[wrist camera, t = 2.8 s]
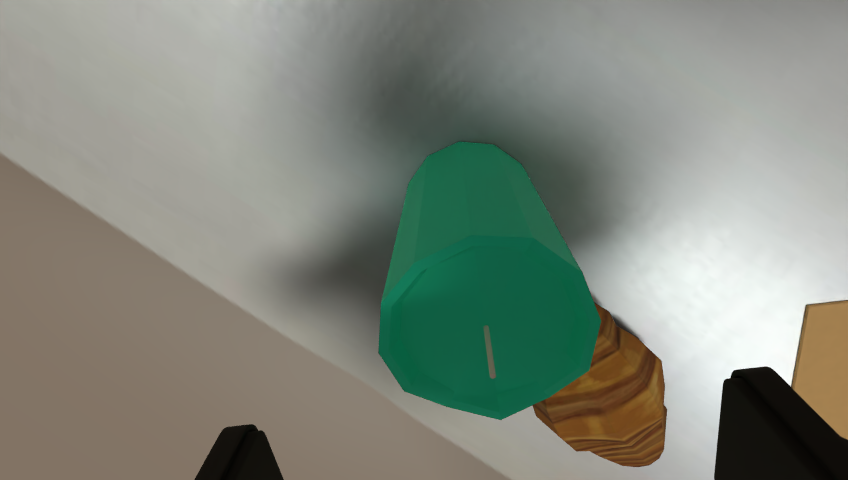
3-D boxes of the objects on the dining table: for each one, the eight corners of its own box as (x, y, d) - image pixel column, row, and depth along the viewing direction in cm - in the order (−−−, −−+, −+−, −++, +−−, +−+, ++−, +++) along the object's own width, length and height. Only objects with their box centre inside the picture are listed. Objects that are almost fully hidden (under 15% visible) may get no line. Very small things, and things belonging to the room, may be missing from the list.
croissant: (466, 299, 24) (471, 362, 20) (586, 234, 23) (623, 287, 18) (582, 460, 29) (608, 542, 24) (691, 416, 27) (741, 496, 22)
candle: (379, 196, 22) (315, 361, 11) (480, 112, 20) (521, 209, 9) (459, 282, 24) (471, 497, 13) (558, 211, 22) (670, 391, 11)
